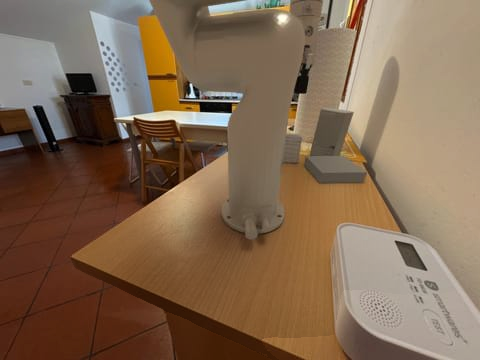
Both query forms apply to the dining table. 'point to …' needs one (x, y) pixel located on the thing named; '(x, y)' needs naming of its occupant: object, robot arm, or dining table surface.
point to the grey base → (334, 169)
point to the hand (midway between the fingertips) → (294, 92)
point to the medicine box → (292, 148)
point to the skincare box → (330, 132)
